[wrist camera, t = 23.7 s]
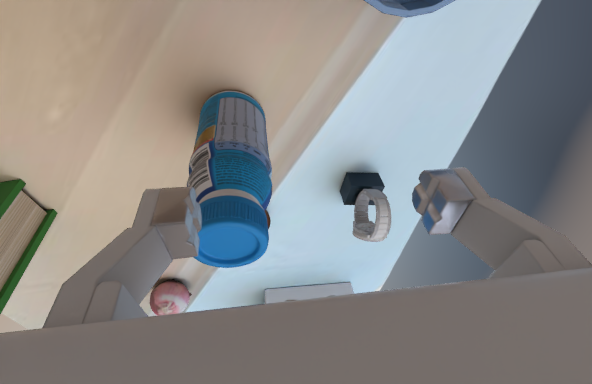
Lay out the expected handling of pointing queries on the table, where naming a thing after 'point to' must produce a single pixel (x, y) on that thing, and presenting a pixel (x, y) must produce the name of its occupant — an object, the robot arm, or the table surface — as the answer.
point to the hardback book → (18, 234)
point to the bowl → (408, 6)
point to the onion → (169, 298)
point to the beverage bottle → (231, 180)
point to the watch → (361, 194)
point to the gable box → (307, 292)
